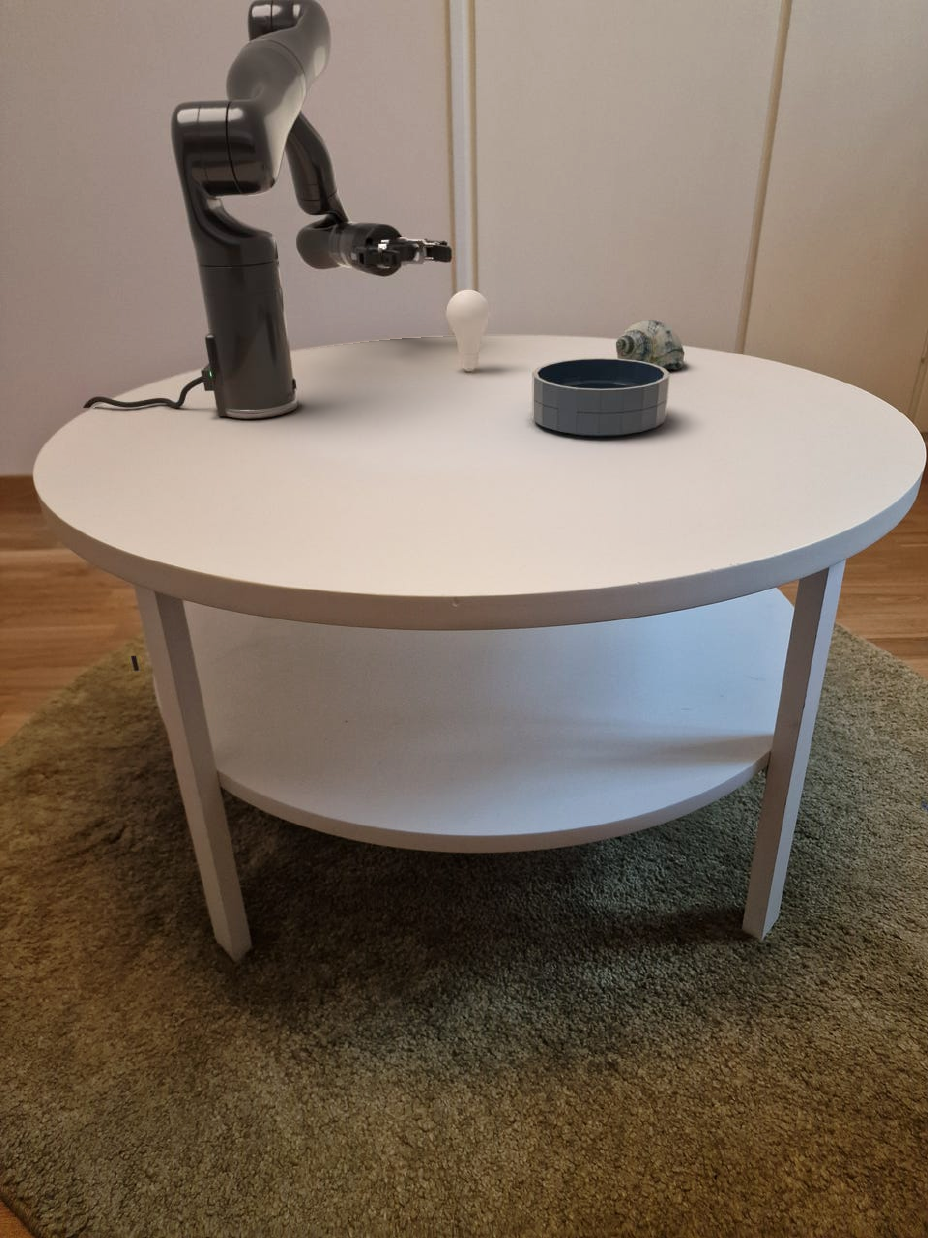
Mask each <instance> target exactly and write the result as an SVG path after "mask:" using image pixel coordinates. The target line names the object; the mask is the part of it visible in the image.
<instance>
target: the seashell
mask: <svg viewBox="0 0 928 1238" xmlns="http://www.w3.org/2000/svg"><path fill="white" fill-rule="evenodd" d="M615 350H616V355H617V356H616V358H617V359H627V360H636V361H642V362H647V363H651V364H655V365H657V366H660V367H662V368H665V369H670V370H671V369H672V370H675V371H678V370H681V369H682V368H683V366H684V359H685V357H684V356H685V354H686V353H685V351H684V347H683V344H682V340H681V339H680V337H679V336H678V334H677V332H676V331H675V330H674V329H673V328H671V327H670V326H669V325H668V324H666V323H663V322H661V321H658V320H652V319H651V320H649V319H648V320H642V321H638V322H636V323H634V324H632V325H631V326H629V327H628V328H627V329H625V331H624V332H623V333H622V334H621V335H620V336H619V338H618V339H617V340H616V342H615Z"/></svg>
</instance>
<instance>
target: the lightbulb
mask: <svg viewBox="0 0 928 1238" xmlns="http://www.w3.org/2000/svg"><path fill="white" fill-rule="evenodd" d="M445 315H446V320H447V323H448V325H449V327H450V329H451V331H452V333H453V335H454V337H455V339H456V344H457V352H458V353H459V362H460V367H461V368H462V369H464V370H465V371H466V372H473V371H474V369H477V368H478V367H479V353H480V352H481V342H482V338H483V335H484V332H485V331H486V328H487V326H488V324H489V321H490V318H491V308H490V305H489V302H488V300H487V299H486V297H485V296H484V295H483V294H482V293H480V292H478V291H476V290H473V289H463V290H459V291H458V292H456V293H455V294H454V295H452V297H451V298H450V299H449V301H448V303H447V306H446V310H445Z"/></svg>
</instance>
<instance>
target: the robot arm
mask: <svg viewBox="0 0 928 1238" xmlns="http://www.w3.org/2000/svg"><path fill="white" fill-rule="evenodd" d="M246 21H247V23H246V24H247V35H248V42H247V43H246V44H245V45H244V46H243V47H242V48H241V49H240V51H239V52H238V54H237V55H236V56H235V58H234V60H233V61H232V63H231V65H230V67H229V69H228V71H227V75H226V82H225V90H226V97H227V99H220V100H219V99H218V100H217V99H216V100H215V99H214V100H194V101H184V102H183V101H182V102H180V103H179V104H177V105H176V106H175V107H174V109H173V111H172V114H171V120H170V139H171V146H172V152H173V158H174V163H175V168H176V172H177V177H178V180H179V185H180V190H181V195H182V199H183V204H184V208H185V212H186V219H187V224H188V229H189V233H190V238H191V241H192V244H193V248H194V252H195V257H196V263H197V269H198V270H197V271H198V276H199V281H200V287H201V292H202V299H203V305H204V311H205V312H204V313H205V317H206V323H207V329H208V333H207V334H206V335H205V336H204V342H205V348H206V354H207V359H208V360H207V361H208V364H207V365H205V366H204V367H203V368H202V369H201V370H200V372H201V376H199V377H197V378H195V379H193V380H191V381H189V382H188V383H187V384H185V385H184V386H183V388H182V389H181V391H180V394H179V396H178V400H177V401H174V400H172V399H170V398H166V397H155V398H148V399H143V400H138V401H120V400H115V399H112V398H110V397H105V396H93V397H91V398H89V399H88V400H87V401H86V402H85V403H84V405H83V407H82V408H83V409H89V408H91V407H92V406H93V405H95V404H96V403H104V404H108V405H111V406H113V407H119V408H125V409H126V408H127V409H133V408H139V407H147V406H150V405H151V406H152V405H158V404H166V405H167V406H169V407H171V408H173V409H179V408H181V407H182V406H183V405H184V403H185V400H186V397H187V395H188V393H189V392H190V391H191V390H192V389H193V388H194V387H196V386H199V385H201V384H203V390H204V392H213V395H214V400H215V407H216V413H217V417H229V418H233V419H246V420H247V419H264V418H271V417H276V416H281V415H284V414H287V413H290V412H292V411H295V409H297V408H298V400H297V399H298V398H297V395H296V391H297V381H296V379H295V378H294V373H293V363H292V357H291V356H292V355H291V348H290V341H289V333H288V325H287V317H286V316H287V315H286V309H285V301H284V293H283V284H282V277H281V276H282V275H281V269H280V260H279V253H278V252H279V251H278V244H277V240H276V238H275V236H274V235H273V234H272V233H271V232H269V231H267V230H265V229H262V228H258V227H256V226H253V225H250V224H248V223H246V222H243V221H242V220H241V219H238V218H236V217H235V216H234V215H233V214H231V213H230V212H229V211H228V210H227V209H226V207H225V205H224V203H223V200H222V198H225V197H229V198H230V197H254V196H259V195H264V194H266V193H269V192H271V190H272V189H273V188H274V187H275V185H276V183H277V181H278V179H279V176H280V172H281V170H282V169H281V168H282V164H283V159H284V153H285V155H286V158H287V164H288V167H289V172H290V176H291V181H292V185H293V191H294V195H295V200H296V202H297V206H298V208H299V209H300V210H301V212H303V213H304V214H305V215H308V216H324V217H321V218H319V219H317V220H314V221H313V222H310V223H308V224H306V225H304V226H302V227H301V228H300V229H299V230H298V232H297V233H296V235H295V239H294V240H295V243H294V245H295V250H296V253H297V255H298V257H299V258H300V260H301V261H302V262H303V263H304V264H305V265H306V266H308V267H309V268H311V269H314V270H317V271H325V270H326V271H327V270H333V269H338V268H343V267H344V268H348V269H353V270H355V271H357V272H360V273H363V274H368V275H372V276H378V277H385V278H386V277H390V276H392V275H394V274H396V273H397V272H398V271H399V270H400V269H401V268H402V267H407V266H409V265H424V264H427V263H428V262H436V263H438V262H439V263H445V264H447V263H451V262H452V260H453V252H452V251H453V250H452V248H451V246H450V245H449V246H448V241H445V240H435V239H428V238H409V237H407V236H405V237H404V236H403V235H402V234H401V233H400V231H399V230H398V229H397V228H396V227H394V226H393V225H390V224H386V223H379V222H370V221H360V222H356V221H352V220H351V219H350V217H349V215H348V213H347V211H346V208H345V206H344V204H343V203H344V202H343V201H342V199H341V196H340V193H339V188H338V183H337V177H336V172H335V165H334V161H333V157H332V154H331V152H330V149H329V147H328V144H327V143H326V141H325V140H324V139H323V137H322V136H321V135H320V133H319V132H318V131H317V129H316V127H314V126H313V124H312V123H311V122H310V121H309V119H308V118H307V117H306V115H305V114H304V112H303V111H302V109H303V106H304V103H305V102H306V97H307V95H308V93H309V91H310V89H311V88H312V86H313V85H314V83H315V82H316V81H317V80H318V79H319V78H320V77H321V76H322V75H323V74H324V73H325V71H326V69H327V66H328V64H329V61H330V57H331V51H332V50H331V49H332V32H331V27H330V22H329V19H328V16H327V13H326V12H325V10H324V8H323V6H322V5H321V4H320V3H319V2H318V1H317V0H253V1H252V2H251V4H250V5H249V7H248V12H247V20H246ZM417 256H418V257H419V258H418V259H416V257H417ZM130 658H131V662H132V667H133V671H134V672H138V671H140V668H139V663H138V659H137V655H131V656H130Z"/></svg>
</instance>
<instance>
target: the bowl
mask: <svg viewBox="0 0 928 1238" xmlns="http://www.w3.org/2000/svg"><path fill="white" fill-rule="evenodd" d="M670 376H671V373H670V372H669V371H668V370H667V368H662V367H660V366H657V365H655V364H651V363H647V362H642V361H636V360H627V359H618V358H612V357H610V358H609V357H589V358H574V359H565V360H564V359H563V360H559V361H554V362H549V363H545V364H543V365H541V366H537V367H536V368H535V369H534V370H533V371H532V373H531V417H532V420H533V422H535V423H536V424H538V425H540V426H541V427H543V428H546V429H550V430H553V431H556V432H559V433H563V434H568V435H572V436H581V437H591V438H595V437H596V438H607V437H608V438H609V437H621V436H628V435H632V434H633V435H634V434H637V433H641V432H645V431H649V430H652V429H655V428H657V427H658V426H660V425H662V424H664V423H665V421H666V417H667V410H668V409H667V408H668V398H669V389H670Z"/></svg>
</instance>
